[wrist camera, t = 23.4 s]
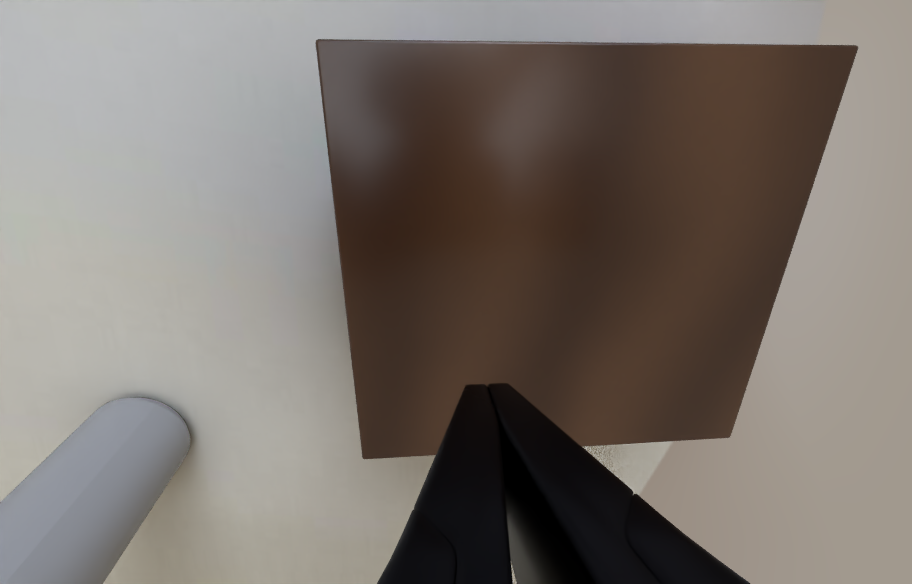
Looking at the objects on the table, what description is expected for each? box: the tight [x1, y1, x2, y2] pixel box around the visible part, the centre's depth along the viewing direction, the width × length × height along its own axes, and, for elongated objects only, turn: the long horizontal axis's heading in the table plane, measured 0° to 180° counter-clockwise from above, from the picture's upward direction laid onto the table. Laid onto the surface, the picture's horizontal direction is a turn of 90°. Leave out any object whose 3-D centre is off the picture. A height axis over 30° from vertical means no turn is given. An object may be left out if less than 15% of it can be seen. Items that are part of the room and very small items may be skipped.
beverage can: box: [0, 397, 190, 584], centre depth 18 cm, size 5×5×12 cm
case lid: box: [316, 39, 858, 459], centre depth 14 cm, size 14×14×1 cm
